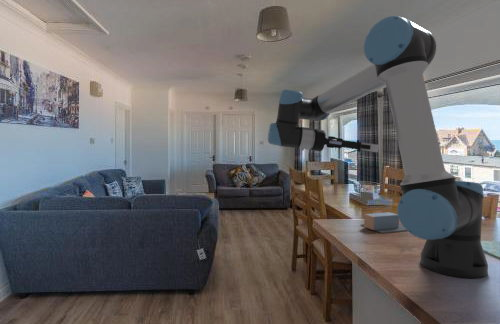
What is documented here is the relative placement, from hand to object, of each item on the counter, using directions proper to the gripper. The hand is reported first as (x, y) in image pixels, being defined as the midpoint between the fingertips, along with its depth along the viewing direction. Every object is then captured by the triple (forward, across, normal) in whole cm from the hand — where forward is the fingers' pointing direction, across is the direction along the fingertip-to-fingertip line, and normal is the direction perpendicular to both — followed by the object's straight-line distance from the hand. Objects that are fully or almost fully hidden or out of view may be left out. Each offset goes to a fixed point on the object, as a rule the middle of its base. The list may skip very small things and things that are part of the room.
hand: (377, 148), depth 116 cm
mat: (+13, -9, -30) cm, 34 cm away
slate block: (+4, -6, -28) cm, 29 cm away
